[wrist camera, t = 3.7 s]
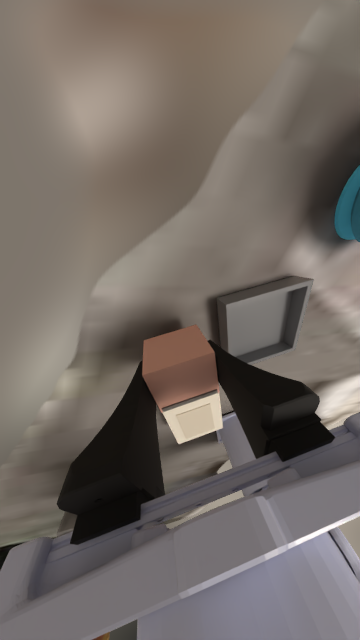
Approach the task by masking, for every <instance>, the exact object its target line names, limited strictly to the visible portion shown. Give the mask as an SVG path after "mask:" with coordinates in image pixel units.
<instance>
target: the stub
mask: <svg viewBox="0 0 360 640" xmlns="http://www.w3.org/2000/svg"><path fill="white" fill-rule="evenodd" d="M142 376H143V378H144V380H145V382H146V384H147V386H148V388H149V390H150V392H151V394H152V395H153V397H154V399H155V401H156V403H157V405H158V407H159V409H160V411H161V413H162V412H165V411H168V410H171V409H174V408H177V407H179V406H182V405H185V404H188V403H191V402H194V401H197V400H199V399H202V398H205V397H208V396H211V395H214V394H216V393H219V384H218V376H217V368H216V360H215V352H214V350H213V349H212V347H211V346H210V344H209V343H208V341H207V340H206V338H205V337H204V335H203V334H202V332H201V331H200V329H199V328H198V326H197V325H193V326H190V327H186V328H183V329H180V330H176V331H173V332H170V333H167V334H163V335H160V336H157V337H153V338H150V339H147V340H144V347H143V368H142Z"/></svg>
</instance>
